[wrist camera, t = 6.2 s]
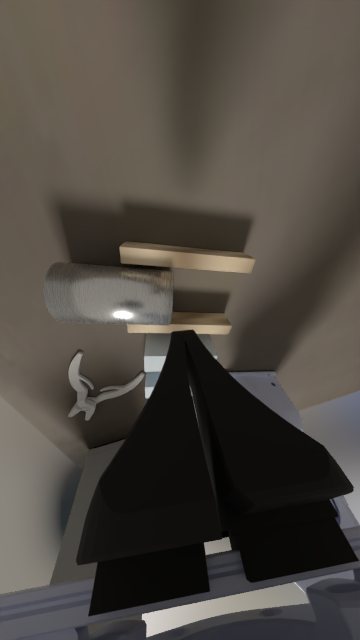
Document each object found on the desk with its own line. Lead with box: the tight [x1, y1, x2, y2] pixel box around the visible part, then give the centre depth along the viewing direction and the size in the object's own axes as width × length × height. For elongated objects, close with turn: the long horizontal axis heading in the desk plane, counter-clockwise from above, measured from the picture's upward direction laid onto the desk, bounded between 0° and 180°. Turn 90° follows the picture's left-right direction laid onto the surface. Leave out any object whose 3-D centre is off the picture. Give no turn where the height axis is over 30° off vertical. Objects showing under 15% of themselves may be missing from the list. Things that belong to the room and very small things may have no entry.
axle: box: [44, 262, 173, 326], centre depth 14 cm, size 9×5×5 cm, turn 83°
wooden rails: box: [120, 241, 256, 334], centre depth 16 cm, size 11×8×2 cm
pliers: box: [68, 351, 145, 421], centre depth 25 cm, size 10×2×15 cm
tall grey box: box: [50, 439, 142, 636], centre depth 29 cm, size 14×6×25 cm, turn 113°
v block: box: [144, 333, 217, 398], centre depth 21 cm, size 8×8×4 cm
